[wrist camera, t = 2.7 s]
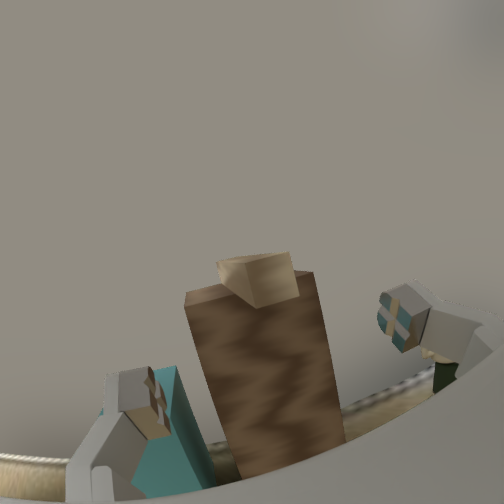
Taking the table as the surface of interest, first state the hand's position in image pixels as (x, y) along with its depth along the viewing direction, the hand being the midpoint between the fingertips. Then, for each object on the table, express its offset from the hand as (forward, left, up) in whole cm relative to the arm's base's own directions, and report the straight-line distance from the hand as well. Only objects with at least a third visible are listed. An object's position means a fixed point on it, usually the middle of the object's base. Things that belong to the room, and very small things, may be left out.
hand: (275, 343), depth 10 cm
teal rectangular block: (-11, +23, -26) cm, 37 cm away
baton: (+3, +20, 0) cm, 20 cm away
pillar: (+3, +24, -26) cm, 36 cm away
